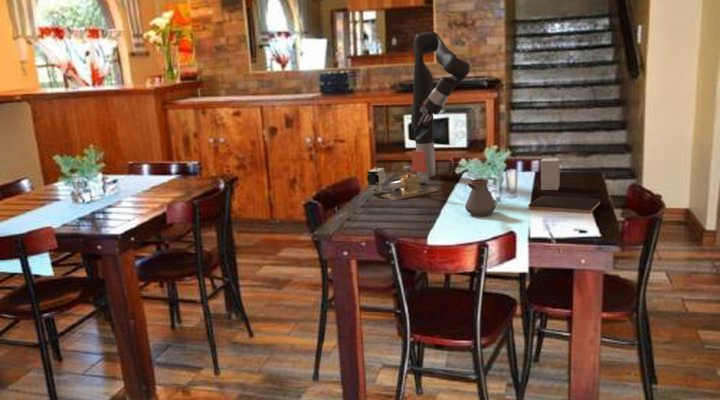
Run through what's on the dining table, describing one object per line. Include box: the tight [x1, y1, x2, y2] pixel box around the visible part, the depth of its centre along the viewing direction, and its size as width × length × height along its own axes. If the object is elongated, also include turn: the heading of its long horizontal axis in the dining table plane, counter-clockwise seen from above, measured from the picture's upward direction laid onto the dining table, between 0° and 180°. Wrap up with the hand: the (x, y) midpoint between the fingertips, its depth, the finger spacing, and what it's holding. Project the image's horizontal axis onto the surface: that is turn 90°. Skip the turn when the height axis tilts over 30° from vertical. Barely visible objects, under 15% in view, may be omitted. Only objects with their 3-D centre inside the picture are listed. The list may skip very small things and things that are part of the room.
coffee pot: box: [464, 178, 497, 217], centre depth 232 cm, size 21×12×15 cm, turn 155°
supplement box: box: [540, 157, 561, 191], centre depth 269 cm, size 7×7×13 cm
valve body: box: [381, 171, 439, 201], centre depth 280 cm, size 24×10×10 cm, turn 122°
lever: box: [403, 149, 427, 173], centre depth 273 cm, size 14×4×9 cm, turn 32°
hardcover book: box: [527, 195, 602, 214], centre depth 238 cm, size 16×23×2 cm
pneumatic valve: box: [366, 166, 387, 195], centre depth 287 cm, size 6×12×12 cm, turn 154°
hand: (415, 133), depth 274 cm, fingers closed
